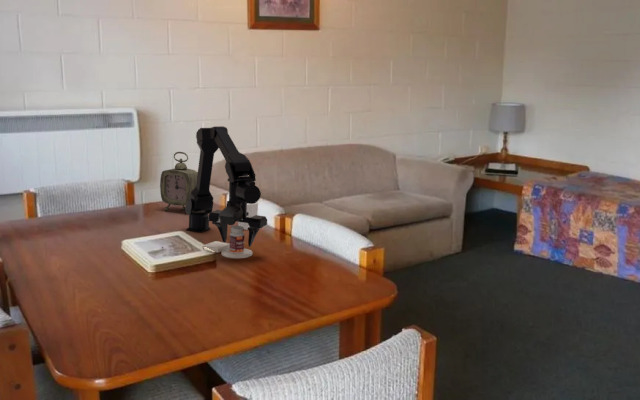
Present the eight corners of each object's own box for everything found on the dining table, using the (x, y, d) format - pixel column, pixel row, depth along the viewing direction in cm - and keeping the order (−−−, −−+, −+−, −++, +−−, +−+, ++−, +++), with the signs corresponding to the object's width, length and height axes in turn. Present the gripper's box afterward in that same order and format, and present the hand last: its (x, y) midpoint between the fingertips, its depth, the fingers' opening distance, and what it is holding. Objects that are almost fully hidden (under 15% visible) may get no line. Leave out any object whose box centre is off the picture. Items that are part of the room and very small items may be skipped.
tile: (215, 245, 207) (202, 250, 201) (215, 241, 206) (203, 245, 200) (230, 248, 204) (217, 253, 198) (230, 243, 204) (217, 248, 198)
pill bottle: (237, 255, 194) (238, 229, 192) (226, 252, 197) (226, 227, 195) (247, 251, 198) (247, 227, 196) (235, 249, 200) (236, 224, 199)
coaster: (215, 255, 195) (215, 253, 194) (230, 247, 204) (230, 246, 204) (243, 260, 191) (243, 258, 191) (257, 252, 200) (257, 250, 200)
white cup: (259, 226, 235) (260, 200, 233) (255, 231, 227) (255, 205, 225) (239, 224, 235) (239, 199, 233) (234, 229, 228) (235, 203, 226)
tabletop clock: (160, 211, 251) (159, 151, 246) (173, 207, 259) (173, 149, 254) (189, 215, 246) (190, 154, 241) (202, 211, 254) (202, 152, 249)
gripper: (199, 198, 189) (198, 246, 193) (252, 205, 183) (251, 255, 186) (217, 192, 200) (216, 238, 203) (268, 199, 193) (267, 246, 196)
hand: (237, 244), depth 197 cm, fingers open, 9 cm apart
